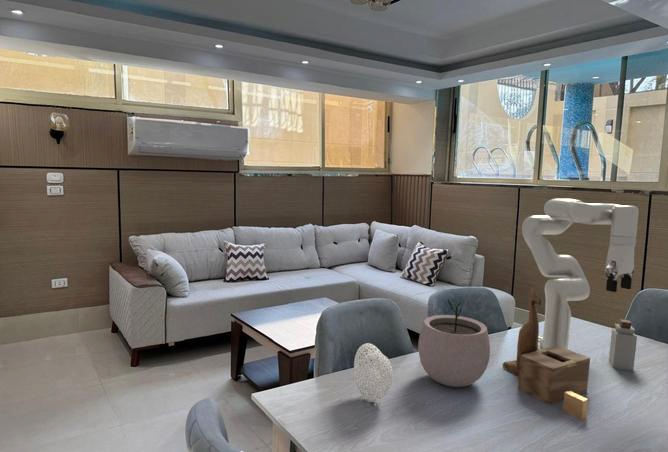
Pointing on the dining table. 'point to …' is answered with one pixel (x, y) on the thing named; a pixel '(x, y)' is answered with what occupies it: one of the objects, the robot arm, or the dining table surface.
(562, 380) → the box
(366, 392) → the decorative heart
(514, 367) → the bird sculpture
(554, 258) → the robot arm
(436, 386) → the dining table surface
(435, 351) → the plant pot
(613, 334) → the perfume bottle
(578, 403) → the tan flat square block
